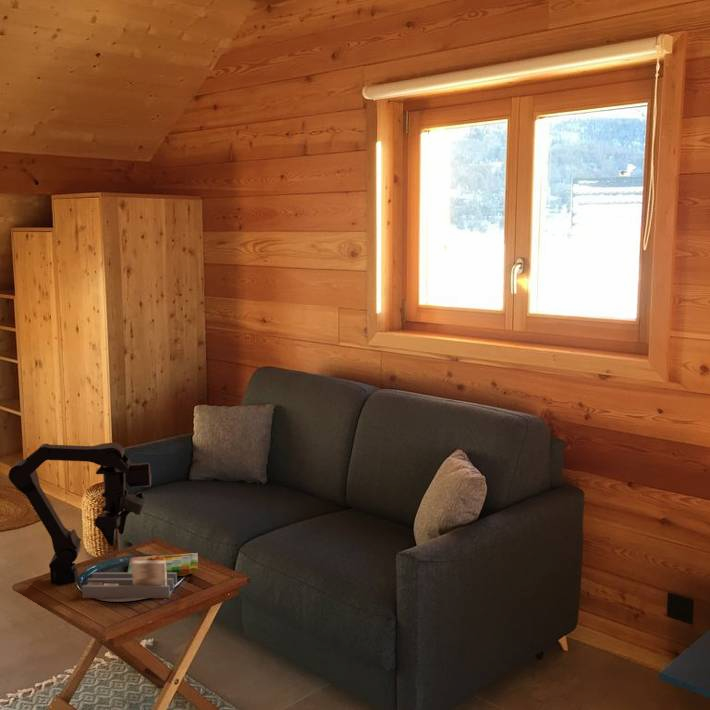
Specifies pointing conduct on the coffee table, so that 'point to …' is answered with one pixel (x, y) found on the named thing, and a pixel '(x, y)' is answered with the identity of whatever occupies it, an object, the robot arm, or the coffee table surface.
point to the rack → (126, 586)
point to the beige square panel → (149, 573)
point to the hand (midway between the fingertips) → (116, 539)
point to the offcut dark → (95, 583)
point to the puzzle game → (173, 562)
